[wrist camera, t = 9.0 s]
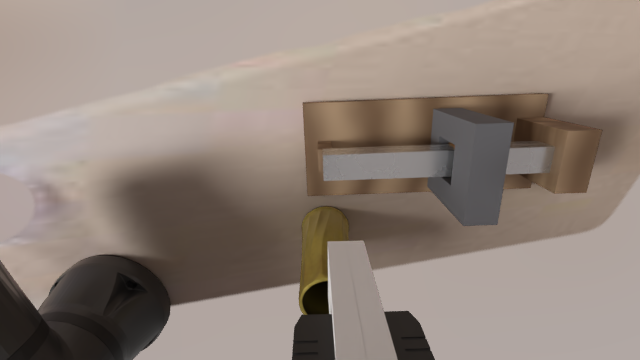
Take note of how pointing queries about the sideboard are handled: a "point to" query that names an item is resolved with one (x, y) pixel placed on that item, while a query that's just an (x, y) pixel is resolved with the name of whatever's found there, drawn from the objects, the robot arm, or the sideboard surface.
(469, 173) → the collar
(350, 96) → the sideboard surface
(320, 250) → the vase
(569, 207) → the sideboard surface
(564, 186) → the wooden stand
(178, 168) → the sideboard surface
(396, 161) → the light grey bar
